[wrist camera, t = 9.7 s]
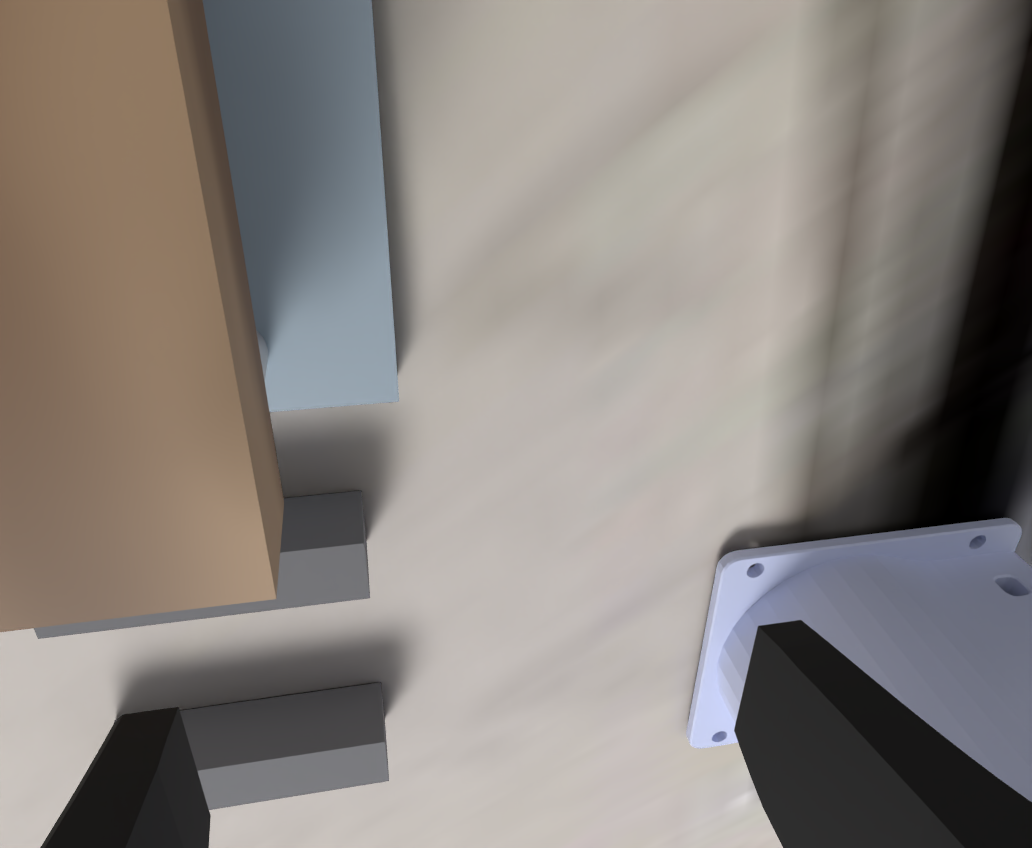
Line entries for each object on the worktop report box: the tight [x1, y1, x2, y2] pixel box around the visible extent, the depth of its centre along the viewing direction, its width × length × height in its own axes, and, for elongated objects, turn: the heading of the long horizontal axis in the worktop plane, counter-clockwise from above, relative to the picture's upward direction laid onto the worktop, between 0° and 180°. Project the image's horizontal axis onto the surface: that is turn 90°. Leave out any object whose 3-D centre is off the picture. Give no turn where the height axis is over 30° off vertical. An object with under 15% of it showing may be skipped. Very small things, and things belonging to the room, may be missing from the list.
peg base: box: [203, 0, 399, 412], centre depth 13 cm, size 9×10×4 cm
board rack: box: [34, 491, 389, 810], centre depth 20 cm, size 7×8×2 cm
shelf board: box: [0, 0, 284, 632], centre depth 10 cm, size 4×10×2 cm, turn 179°
